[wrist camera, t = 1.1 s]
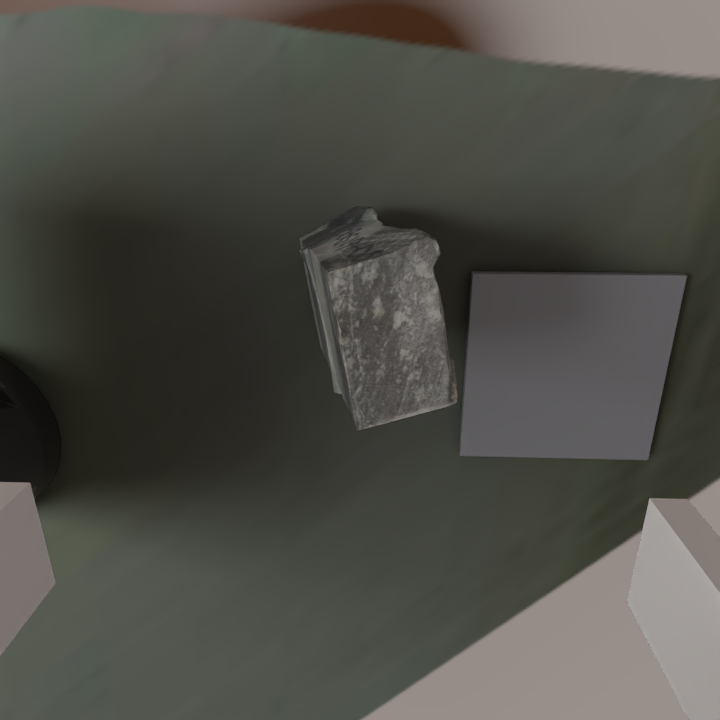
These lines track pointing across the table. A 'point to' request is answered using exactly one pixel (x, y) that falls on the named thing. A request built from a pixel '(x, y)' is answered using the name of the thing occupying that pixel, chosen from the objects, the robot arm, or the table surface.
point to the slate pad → (566, 363)
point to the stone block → (379, 317)
